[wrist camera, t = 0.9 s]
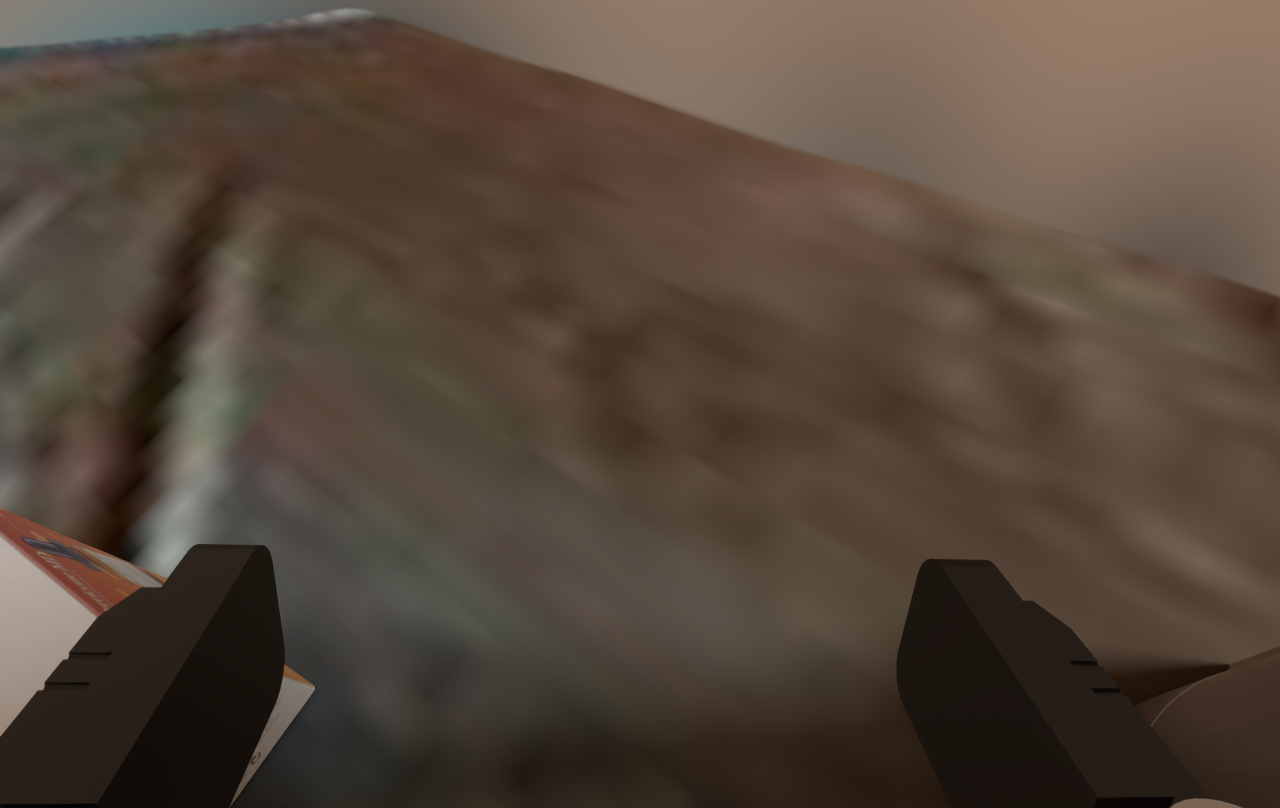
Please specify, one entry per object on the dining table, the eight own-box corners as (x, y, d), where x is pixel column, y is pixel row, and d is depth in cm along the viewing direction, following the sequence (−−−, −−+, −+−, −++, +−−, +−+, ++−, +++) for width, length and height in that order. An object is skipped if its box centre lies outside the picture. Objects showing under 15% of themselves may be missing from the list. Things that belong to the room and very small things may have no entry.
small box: (322, 689, 29) (115, 624, 20) (213, 838, 28) (-70, 842, 18) (179, 578, 32) (-60, 476, 23) (71, 707, 30) (-235, 653, 21)
